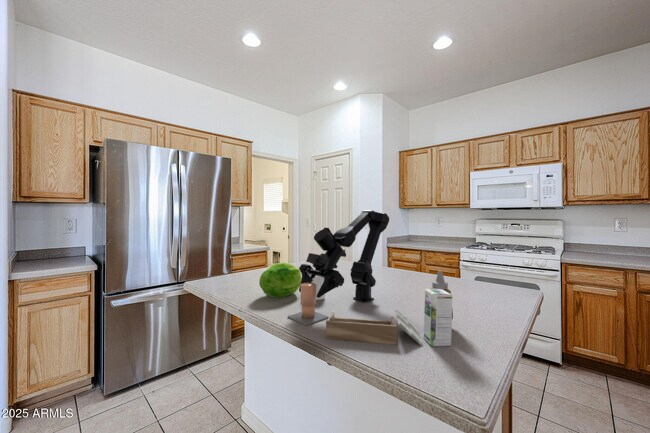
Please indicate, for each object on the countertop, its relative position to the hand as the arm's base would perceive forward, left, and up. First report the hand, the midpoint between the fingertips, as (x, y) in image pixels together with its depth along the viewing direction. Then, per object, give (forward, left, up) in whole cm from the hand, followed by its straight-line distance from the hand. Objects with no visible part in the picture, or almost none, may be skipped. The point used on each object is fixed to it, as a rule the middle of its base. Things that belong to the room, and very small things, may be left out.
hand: (308, 294), depth 98 cm
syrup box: (-17, +38, -8) cm, 42 cm away
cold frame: (-8, +22, -8) cm, 25 cm away
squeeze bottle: (-28, +33, -8) cm, 44 cm away
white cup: (-17, -16, -8) cm, 25 cm away
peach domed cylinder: (0, 0, -8) cm, 8 cm away
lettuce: (-7, -28, -8) cm, 30 cm away
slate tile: (0, 0, -8) cm, 8 cm away
